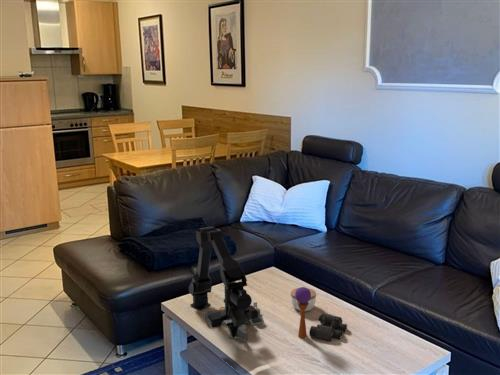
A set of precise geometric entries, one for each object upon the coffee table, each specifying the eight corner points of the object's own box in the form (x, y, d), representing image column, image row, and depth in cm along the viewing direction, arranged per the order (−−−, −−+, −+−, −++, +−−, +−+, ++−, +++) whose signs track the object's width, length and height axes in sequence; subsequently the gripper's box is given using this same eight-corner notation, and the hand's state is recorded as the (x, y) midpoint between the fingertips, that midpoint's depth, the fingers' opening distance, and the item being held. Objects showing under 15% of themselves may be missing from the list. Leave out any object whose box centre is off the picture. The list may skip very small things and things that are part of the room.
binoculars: (349, 326, 196) (350, 312, 195) (336, 345, 183) (337, 330, 181) (323, 320, 201) (323, 306, 200) (309, 338, 188) (309, 323, 186)
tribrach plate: (204, 324, 198) (204, 323, 198) (238, 308, 212) (238, 307, 212) (236, 341, 185) (236, 339, 185) (271, 323, 199) (271, 321, 199)
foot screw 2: (260, 321, 198) (260, 311, 198) (250, 321, 198) (250, 311, 198) (260, 310, 208) (260, 300, 207) (250, 310, 208) (250, 300, 207)
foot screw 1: (227, 315, 204) (227, 305, 203) (229, 319, 200) (229, 310, 199) (203, 318, 201) (203, 309, 200) (205, 323, 198) (205, 313, 197)
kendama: (313, 335, 189) (314, 287, 185) (305, 341, 185) (305, 292, 180) (299, 330, 193) (300, 283, 188) (291, 337, 188) (292, 288, 184)
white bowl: (287, 312, 208) (287, 292, 206) (294, 302, 218) (295, 282, 216) (312, 316, 204) (312, 295, 202) (318, 306, 214) (318, 286, 212)
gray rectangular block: (229, 331, 191) (229, 321, 190) (239, 329, 193) (239, 319, 192) (240, 343, 182) (240, 332, 181) (250, 340, 184) (249, 330, 183)
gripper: (216, 312, 169) (217, 353, 172) (265, 302, 177) (265, 341, 180) (205, 300, 179) (206, 339, 182) (251, 290, 187) (252, 328, 190)
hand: (233, 337), depth 183 cm, fingers closed
